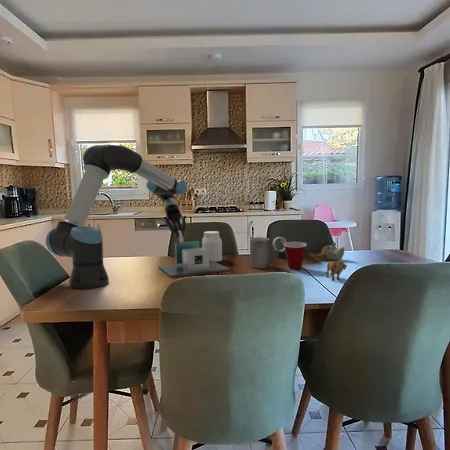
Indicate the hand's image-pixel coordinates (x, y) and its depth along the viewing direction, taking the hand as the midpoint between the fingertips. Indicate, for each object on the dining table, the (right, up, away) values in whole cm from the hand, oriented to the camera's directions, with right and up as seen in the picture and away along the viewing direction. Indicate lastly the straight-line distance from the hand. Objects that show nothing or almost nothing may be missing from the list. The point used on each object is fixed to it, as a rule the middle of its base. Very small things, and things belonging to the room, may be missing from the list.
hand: (182, 241), depth 192 cm
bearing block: (+7, -12, -17) cm, 22 cm away
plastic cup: (+55, -12, -19) cm, 60 cm away
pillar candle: (+40, -12, -13) cm, 43 cm away
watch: (+53, -9, +11) cm, 55 cm away
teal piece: (+6, -10, -15) cm, 19 cm away
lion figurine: (+68, -14, -39) cm, 80 cm away
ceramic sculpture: (+78, -10, +1) cm, 78 cm away
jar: (+16, -10, +6) cm, 19 cm away
